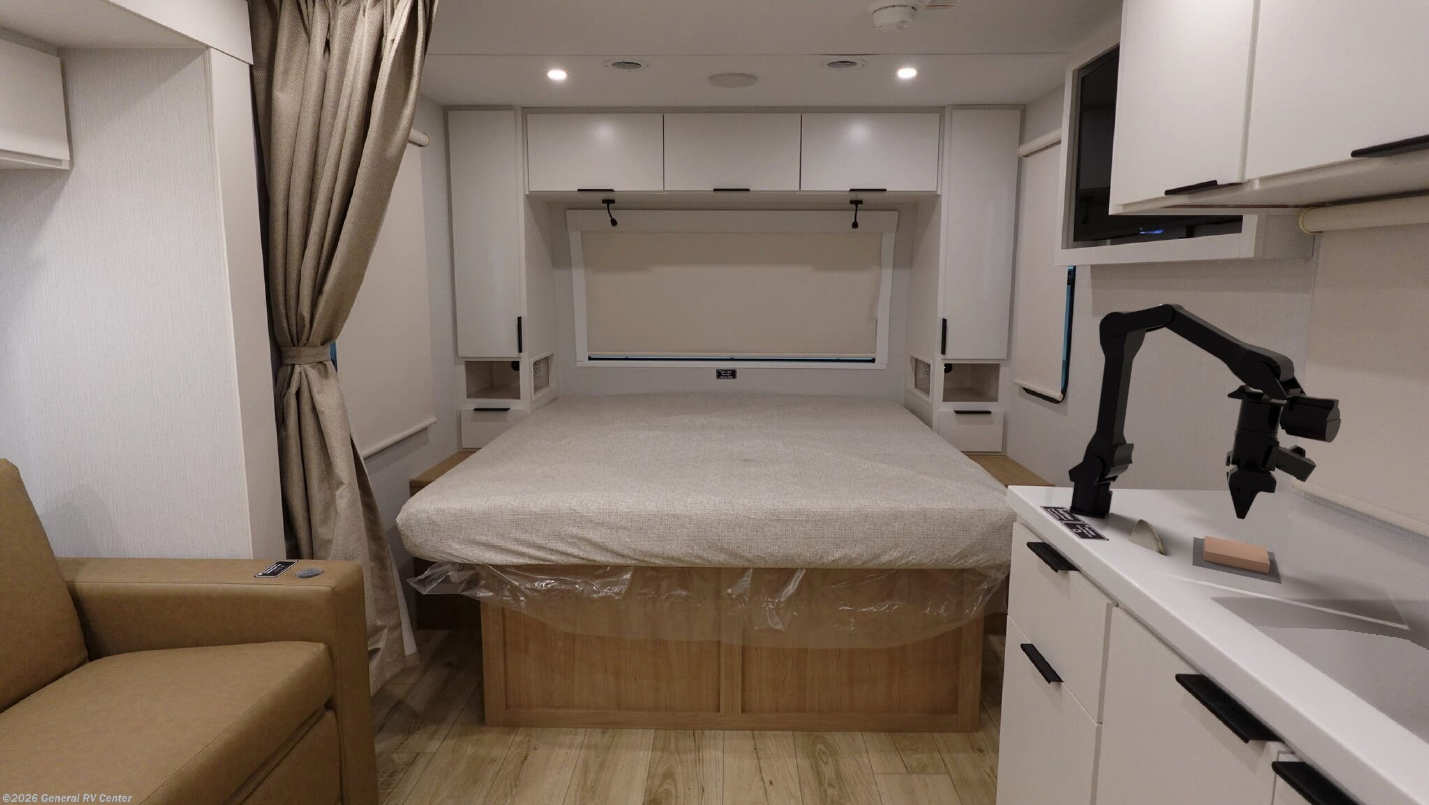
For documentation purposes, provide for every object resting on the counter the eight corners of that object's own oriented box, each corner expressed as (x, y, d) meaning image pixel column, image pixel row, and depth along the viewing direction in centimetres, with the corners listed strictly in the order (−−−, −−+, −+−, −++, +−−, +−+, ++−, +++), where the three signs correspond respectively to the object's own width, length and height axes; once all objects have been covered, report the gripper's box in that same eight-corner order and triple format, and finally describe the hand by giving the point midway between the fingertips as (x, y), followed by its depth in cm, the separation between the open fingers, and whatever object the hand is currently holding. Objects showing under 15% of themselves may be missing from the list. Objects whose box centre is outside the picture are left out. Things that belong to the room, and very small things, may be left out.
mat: (1192, 567, 129) (1192, 564, 129) (1193, 539, 143) (1193, 537, 143) (1280, 586, 123) (1281, 583, 123) (1273, 555, 137) (1273, 552, 137)
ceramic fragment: (1167, 560, 133) (1171, 538, 132) (1134, 556, 134) (1138, 535, 133) (1141, 533, 147) (1144, 514, 146) (1111, 530, 148) (1114, 511, 147)
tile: (1203, 544, 139) (1203, 560, 132) (1204, 535, 139) (1204, 550, 131) (1264, 556, 135) (1268, 573, 127) (1266, 547, 134) (1270, 564, 127)
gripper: (1325, 448, 119) (1305, 545, 122) (1310, 427, 134) (1293, 514, 137) (1237, 436, 124) (1220, 529, 127) (1233, 417, 140) (1218, 501, 143)
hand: (1240, 518), depth 134 cm, fingers closed
